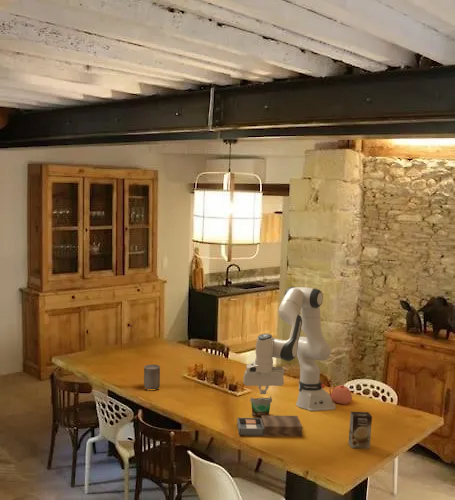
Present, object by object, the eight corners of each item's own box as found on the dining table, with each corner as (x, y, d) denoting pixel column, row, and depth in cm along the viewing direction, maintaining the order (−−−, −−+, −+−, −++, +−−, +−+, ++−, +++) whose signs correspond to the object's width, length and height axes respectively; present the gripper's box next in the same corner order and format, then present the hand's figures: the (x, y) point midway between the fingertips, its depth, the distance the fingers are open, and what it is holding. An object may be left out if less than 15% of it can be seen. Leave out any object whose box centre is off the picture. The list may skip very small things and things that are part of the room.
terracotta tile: (245, 419, 309) (245, 424, 309) (246, 423, 304) (246, 427, 304) (254, 419, 309) (254, 424, 310) (256, 423, 304) (255, 427, 305)
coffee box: (351, 448, 285) (353, 416, 284) (348, 443, 291) (349, 411, 290) (370, 448, 285) (372, 416, 284) (366, 443, 292) (368, 411, 290)
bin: (260, 424, 312) (261, 417, 311) (264, 436, 297) (264, 429, 296) (237, 424, 311) (237, 417, 310) (239, 435, 296) (239, 428, 296)
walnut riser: (296, 425, 313) (297, 415, 312) (302, 436, 298) (302, 426, 297) (260, 424, 312) (261, 415, 311) (264, 436, 297) (264, 426, 296)
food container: (253, 419, 319) (253, 401, 318) (249, 415, 325) (250, 397, 324) (274, 417, 322) (275, 399, 321) (270, 413, 328) (271, 395, 327)
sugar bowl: (351, 406, 344) (352, 389, 343) (327, 404, 347) (328, 387, 346) (351, 399, 356) (352, 383, 355) (328, 397, 359) (328, 380, 358)
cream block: (246, 424, 302) (245, 429, 302) (246, 428, 297) (246, 433, 297) (255, 424, 302) (255, 429, 303) (256, 428, 297) (256, 433, 298)
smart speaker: (161, 386, 369) (161, 362, 368) (157, 391, 359) (158, 367, 358) (145, 385, 370) (146, 362, 369) (142, 390, 360) (142, 366, 359)
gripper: (283, 365, 301) (282, 391, 303) (243, 364, 300) (242, 391, 301) (285, 368, 295) (284, 396, 296) (244, 368, 294) (243, 395, 295)
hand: (263, 393), depth 299 cm, fingers closed
